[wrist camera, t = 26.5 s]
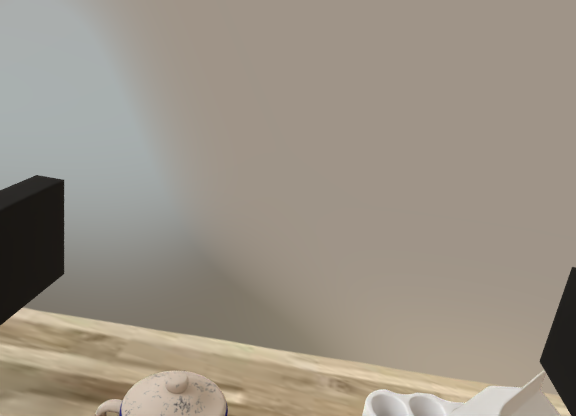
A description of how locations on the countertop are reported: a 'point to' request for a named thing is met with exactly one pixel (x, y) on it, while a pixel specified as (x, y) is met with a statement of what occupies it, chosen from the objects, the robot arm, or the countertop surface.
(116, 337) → the countertop surface
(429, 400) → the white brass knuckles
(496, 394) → the milk
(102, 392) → the countertop surface
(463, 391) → the countertop surface
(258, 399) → the countertop surface
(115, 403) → the teacup with lid
